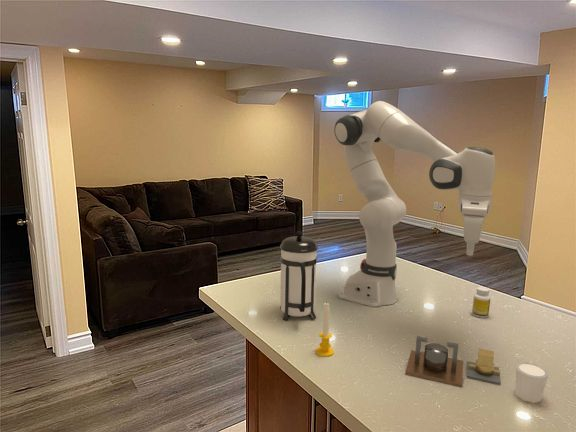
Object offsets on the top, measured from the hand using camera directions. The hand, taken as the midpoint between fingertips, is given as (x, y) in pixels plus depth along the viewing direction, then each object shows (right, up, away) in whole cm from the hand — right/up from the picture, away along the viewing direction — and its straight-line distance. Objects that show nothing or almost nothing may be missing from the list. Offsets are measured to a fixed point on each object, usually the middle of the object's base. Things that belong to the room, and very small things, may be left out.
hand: (469, 250), depth 124 cm
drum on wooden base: (-13, -31, -9) cm, 35 cm away
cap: (-1, -31, -11) cm, 33 cm away
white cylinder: (+6, -34, -20) cm, 40 cm away
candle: (-43, -29, -1) cm, 52 cm away
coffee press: (-49, -25, +23) cm, 60 cm away
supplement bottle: (+15, -25, +26) cm, 39 cm away
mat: (-1, -32, -11) cm, 34 cm away
